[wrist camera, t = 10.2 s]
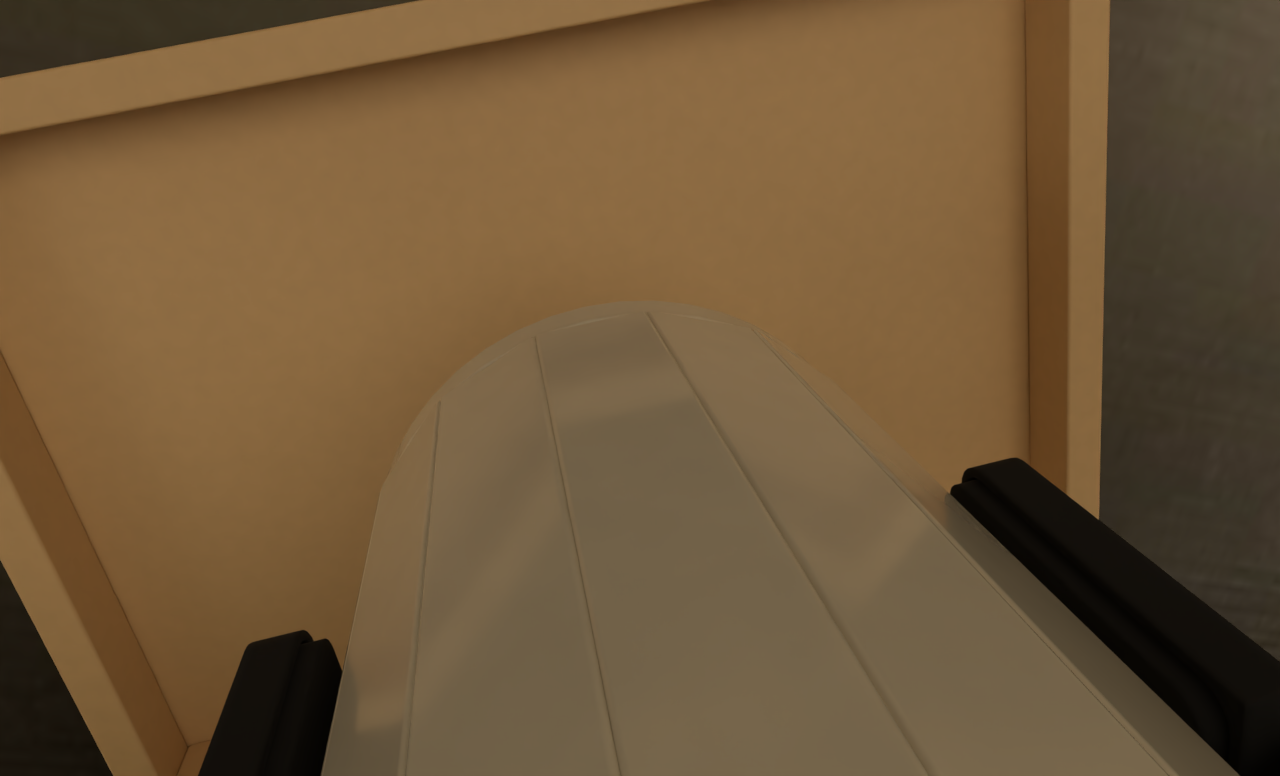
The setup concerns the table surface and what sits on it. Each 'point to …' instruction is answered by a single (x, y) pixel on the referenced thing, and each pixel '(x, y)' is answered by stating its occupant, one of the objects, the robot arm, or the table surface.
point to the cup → (705, 584)
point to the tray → (498, 276)
